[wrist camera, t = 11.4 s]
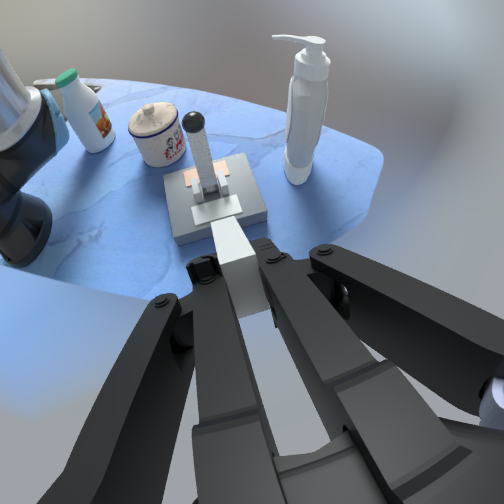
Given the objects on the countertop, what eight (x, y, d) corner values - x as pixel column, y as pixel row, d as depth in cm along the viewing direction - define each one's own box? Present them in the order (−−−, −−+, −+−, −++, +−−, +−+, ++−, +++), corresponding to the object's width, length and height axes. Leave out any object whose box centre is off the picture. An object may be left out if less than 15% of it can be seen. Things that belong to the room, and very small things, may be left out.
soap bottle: (271, 135, 50) (275, 19, 27) (312, 140, 49) (332, 26, 27) (264, 189, 45) (267, 56, 23) (311, 195, 45) (344, 65, 22)
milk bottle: (100, 157, 50) (58, 88, 32) (81, 150, 52) (41, 87, 33) (122, 132, 53) (89, 62, 34) (102, 127, 54) (70, 63, 36)
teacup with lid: (177, 171, 47) (159, 124, 36) (135, 167, 48) (112, 124, 37) (199, 127, 52) (189, 81, 41) (160, 125, 53) (145, 82, 42)
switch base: (267, 220, 43) (267, 201, 38) (178, 246, 42) (168, 230, 37) (245, 163, 47) (243, 142, 42) (167, 185, 46) (158, 166, 41)
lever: (222, 194, 41) (203, 112, 31) (203, 200, 40) (180, 119, 30) (219, 183, 43) (201, 106, 33) (200, 189, 42) (178, 112, 32)
